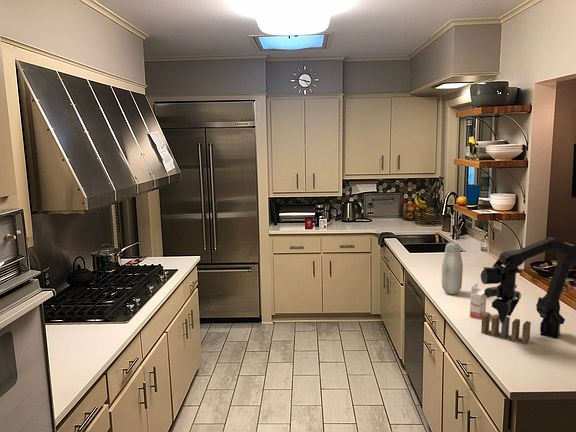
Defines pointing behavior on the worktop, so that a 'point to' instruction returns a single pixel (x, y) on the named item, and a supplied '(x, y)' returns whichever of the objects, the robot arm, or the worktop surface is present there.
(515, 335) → the domino
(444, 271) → the gray bottle
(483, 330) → the domino
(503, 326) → the gray domino
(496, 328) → the domino
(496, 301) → the robot arm
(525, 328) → the domino
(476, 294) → the ink cartridge box
